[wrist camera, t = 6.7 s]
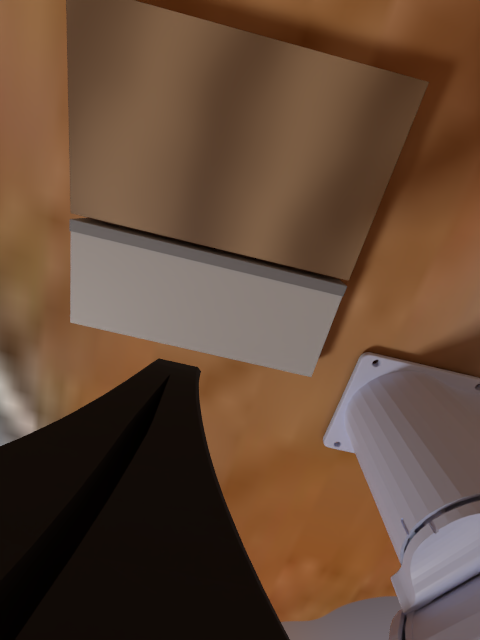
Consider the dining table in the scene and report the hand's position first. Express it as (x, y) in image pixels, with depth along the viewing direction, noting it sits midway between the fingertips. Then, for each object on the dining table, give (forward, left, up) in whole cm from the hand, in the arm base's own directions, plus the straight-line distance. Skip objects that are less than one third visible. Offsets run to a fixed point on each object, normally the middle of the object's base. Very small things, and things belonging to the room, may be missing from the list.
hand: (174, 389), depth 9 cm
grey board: (0, 0, -9) cm, 9 cm away
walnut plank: (+1, -8, -9) cm, 12 cm away
